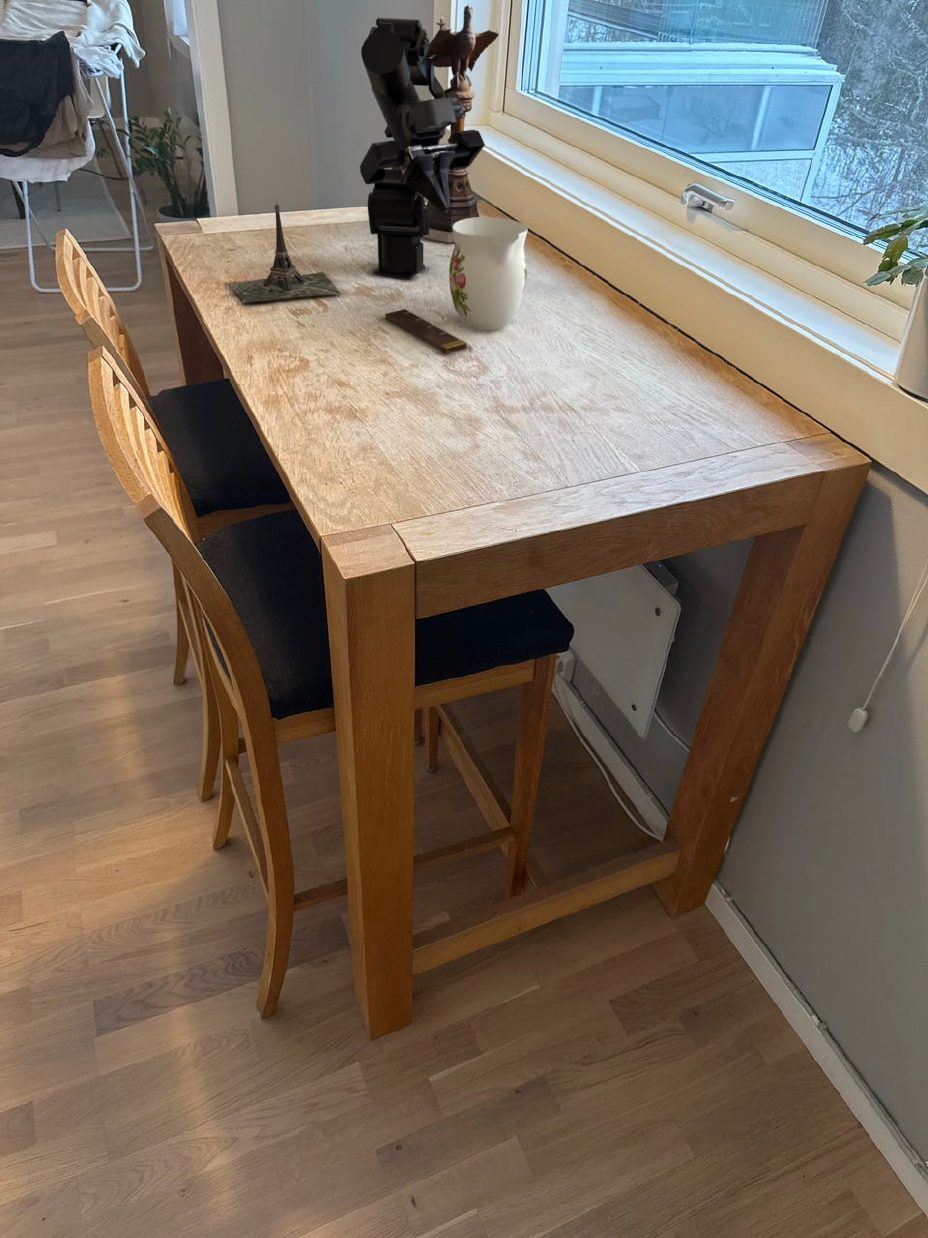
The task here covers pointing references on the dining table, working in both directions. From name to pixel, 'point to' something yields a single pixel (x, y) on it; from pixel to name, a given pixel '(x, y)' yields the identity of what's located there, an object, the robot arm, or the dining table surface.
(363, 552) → the dining table surface
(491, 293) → the pitcher
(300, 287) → the eiffel tower figurine
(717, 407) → the dining table surface
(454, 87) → the bird statue
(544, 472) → the dining table surface
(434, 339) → the ruler
